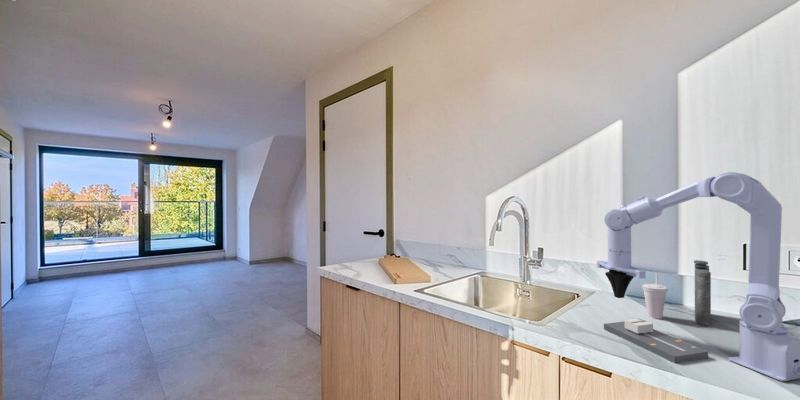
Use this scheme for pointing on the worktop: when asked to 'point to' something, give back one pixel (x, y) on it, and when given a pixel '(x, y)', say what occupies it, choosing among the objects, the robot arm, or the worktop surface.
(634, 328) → the fader knob
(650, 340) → the console
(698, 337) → the worktop surface
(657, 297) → the smoothie
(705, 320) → the flask
